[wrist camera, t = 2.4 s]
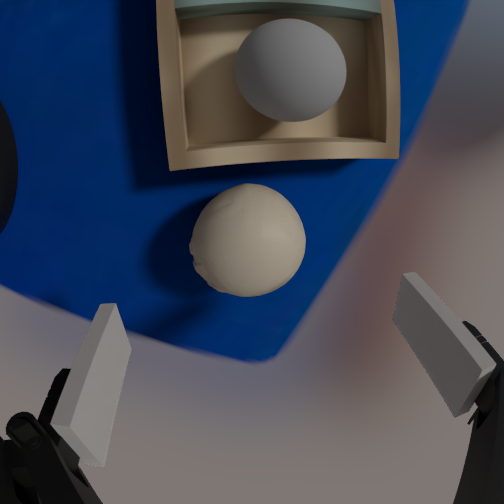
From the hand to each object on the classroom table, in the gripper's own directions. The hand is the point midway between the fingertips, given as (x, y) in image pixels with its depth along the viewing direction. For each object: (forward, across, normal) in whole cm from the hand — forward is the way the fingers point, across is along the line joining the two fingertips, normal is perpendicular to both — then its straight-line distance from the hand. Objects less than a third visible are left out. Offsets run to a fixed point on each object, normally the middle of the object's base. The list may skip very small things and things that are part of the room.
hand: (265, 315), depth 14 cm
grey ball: (+9, +3, +11) cm, 14 cm away
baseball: (+11, 0, 0) cm, 11 cm away
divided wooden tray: (+10, +3, +15) cm, 19 cm away
